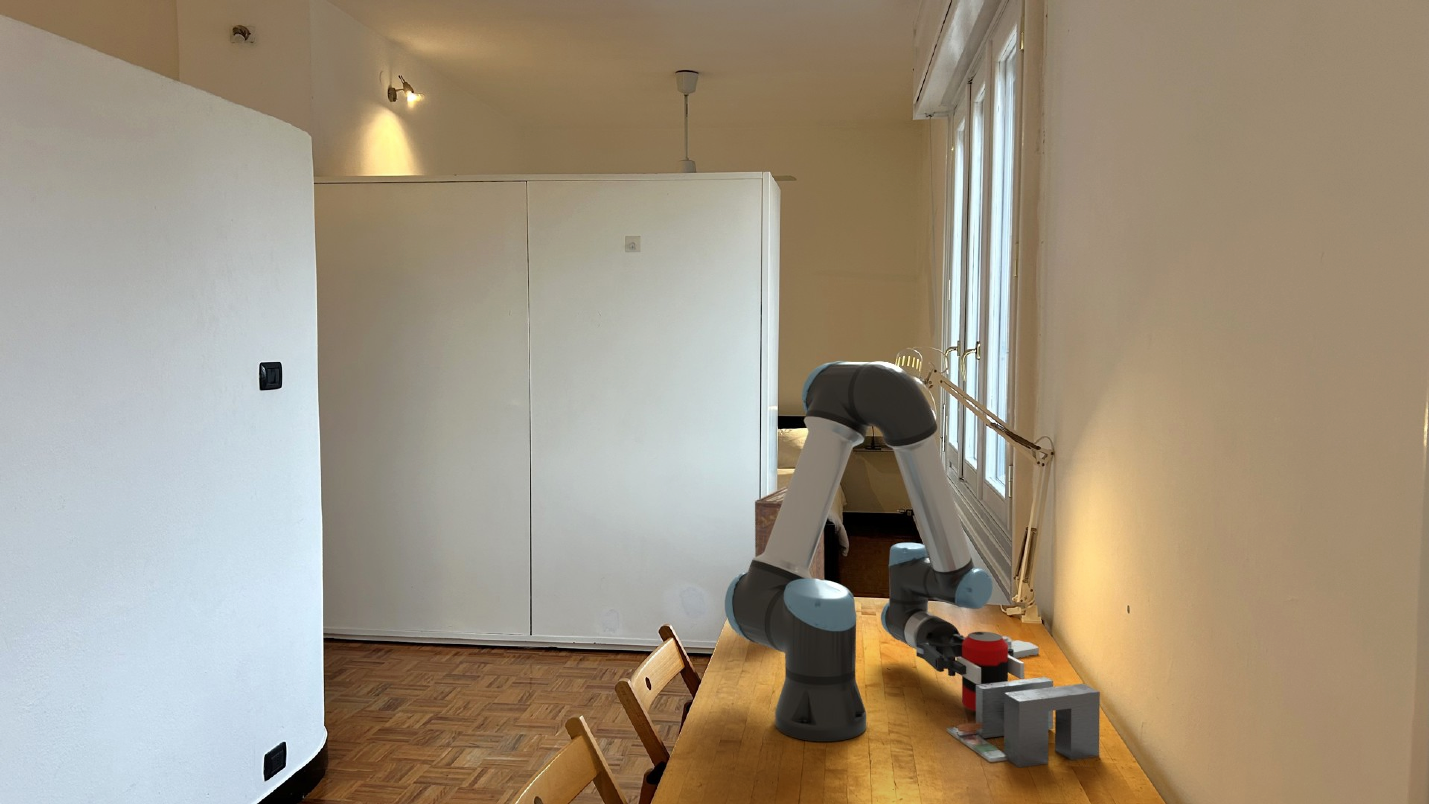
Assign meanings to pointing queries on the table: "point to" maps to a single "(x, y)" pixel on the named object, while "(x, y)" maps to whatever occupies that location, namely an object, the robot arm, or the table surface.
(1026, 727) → the gauge bed
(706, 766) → the table surface
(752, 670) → the table surface
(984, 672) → the soda can
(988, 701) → the grey block
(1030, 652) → the grey flat angular piece
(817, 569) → the book
